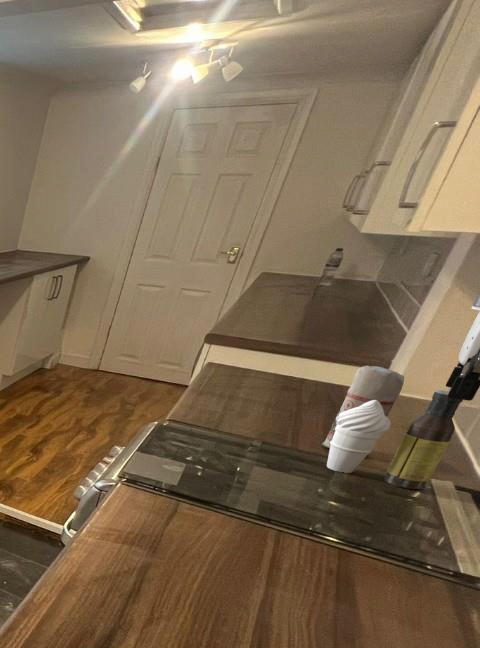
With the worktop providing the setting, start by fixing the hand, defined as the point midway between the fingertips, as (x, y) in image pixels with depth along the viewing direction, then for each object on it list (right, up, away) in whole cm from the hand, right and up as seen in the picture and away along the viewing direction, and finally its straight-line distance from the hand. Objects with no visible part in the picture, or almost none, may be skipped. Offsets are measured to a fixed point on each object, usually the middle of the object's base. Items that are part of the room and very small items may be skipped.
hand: (457, 393), depth 112 cm
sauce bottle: (-1, -18, +9) cm, 20 cm away
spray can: (+4, -10, +26) cm, 28 cm away
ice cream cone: (-8, -15, +15) cm, 23 cm away
